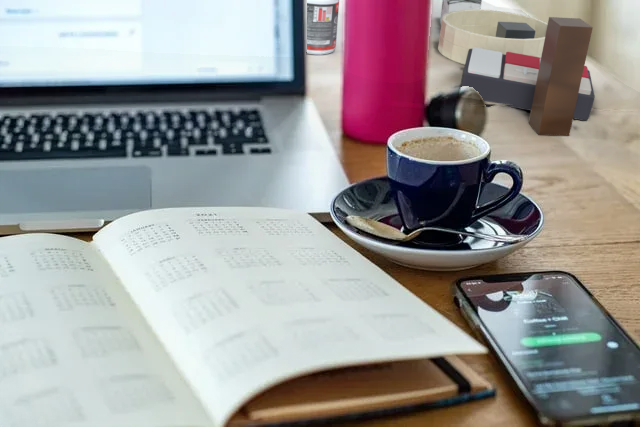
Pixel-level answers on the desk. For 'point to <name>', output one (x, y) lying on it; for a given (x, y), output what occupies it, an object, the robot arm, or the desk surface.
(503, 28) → the slate block
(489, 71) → the grey switch panel
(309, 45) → the pill bottle
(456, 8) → the ink box
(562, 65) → the brown tall block
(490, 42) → the bowl
